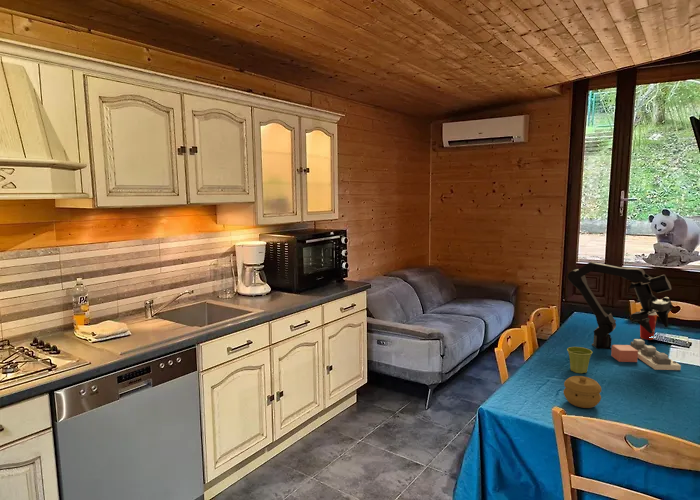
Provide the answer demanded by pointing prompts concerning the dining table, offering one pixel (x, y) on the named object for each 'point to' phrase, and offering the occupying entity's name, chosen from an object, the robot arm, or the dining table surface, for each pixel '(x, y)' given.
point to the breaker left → (639, 342)
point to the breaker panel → (655, 359)
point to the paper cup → (652, 321)
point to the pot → (582, 391)
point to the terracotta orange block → (624, 353)
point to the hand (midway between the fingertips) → (659, 330)
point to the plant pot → (579, 359)
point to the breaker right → (661, 356)
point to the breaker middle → (650, 348)
